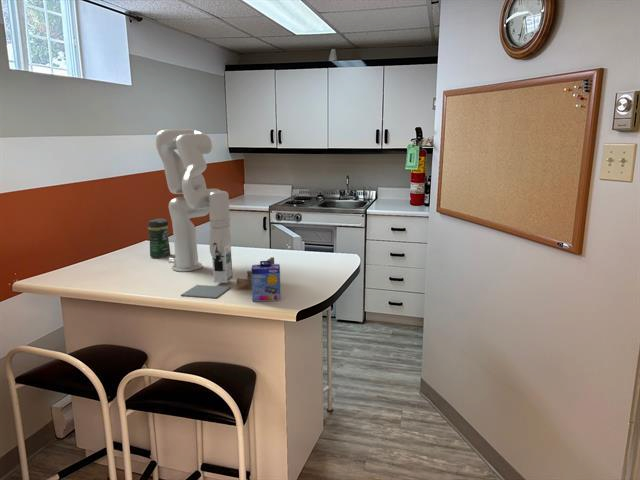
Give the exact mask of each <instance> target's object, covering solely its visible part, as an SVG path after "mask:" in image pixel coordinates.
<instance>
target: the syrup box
mask: <svg viewBox="0 0 640 480" xmlns="http://www.w3.org/2000/svg"><path fill="white" fill-rule="evenodd" d="M216 253H219V252H216ZM217 256H218V257H219V255H217ZM211 261H212V263H211V264H212V275H213V282H214V283H219V284H220V283H221V284H222V283H223V284H228V282H230V281H231V280H233V279H234V275H233V262H232V261H233V260H232V244H231V245H230V244H229V245H227V246H225V247H224V249H223V253H222V259H221V261H222V263H223V271H215V267H214V259H213V257H212V256H211Z"/></svg>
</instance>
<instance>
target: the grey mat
mask: <svg viewBox="0 0 640 480" xmlns="http://www.w3.org/2000/svg"><path fill="white" fill-rule="evenodd" d="M230 289H231V286H224V285H223V286H221V285H205V284H196V285H194V286H193V287H191V288H190V289H188V290H186V291H185V292H183V293H181V294H180V296H181V297H191V298H201V299H202V298H204V299H216V300H217V299H218V298H220V296H222V295H223V294H225V293H226V292H227V291H229V290H230Z"/></svg>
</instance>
